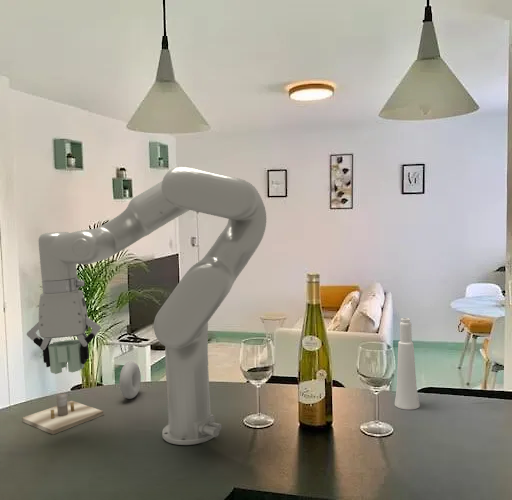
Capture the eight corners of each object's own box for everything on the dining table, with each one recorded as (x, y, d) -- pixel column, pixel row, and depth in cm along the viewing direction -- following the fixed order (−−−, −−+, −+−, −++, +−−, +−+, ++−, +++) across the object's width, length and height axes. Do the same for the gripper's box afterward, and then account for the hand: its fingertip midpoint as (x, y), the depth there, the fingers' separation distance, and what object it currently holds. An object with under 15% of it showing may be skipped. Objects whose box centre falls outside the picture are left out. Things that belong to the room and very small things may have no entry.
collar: (86, 363, 126) (84, 338, 125) (80, 372, 119) (77, 345, 118) (55, 366, 125) (53, 341, 124) (47, 375, 118) (45, 348, 118)
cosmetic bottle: (424, 405, 133) (422, 318, 131) (411, 411, 129) (409, 322, 127) (403, 399, 137) (401, 315, 136) (389, 405, 133) (387, 319, 132)
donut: (131, 391, 152) (129, 357, 151) (143, 391, 152) (141, 357, 151) (118, 404, 142) (116, 367, 141) (130, 404, 142) (128, 367, 141)
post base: (103, 414, 135) (102, 391, 134) (52, 434, 124) (51, 409, 124) (71, 404, 144) (70, 382, 143) (22, 421, 133) (20, 398, 132)
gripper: (102, 281, 125) (108, 356, 126) (25, 287, 123) (32, 362, 124) (96, 286, 118) (103, 365, 119) (14, 292, 116) (22, 372, 117)
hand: (66, 363), depth 122 cm, fingers closed on collar, 7 cm apart
